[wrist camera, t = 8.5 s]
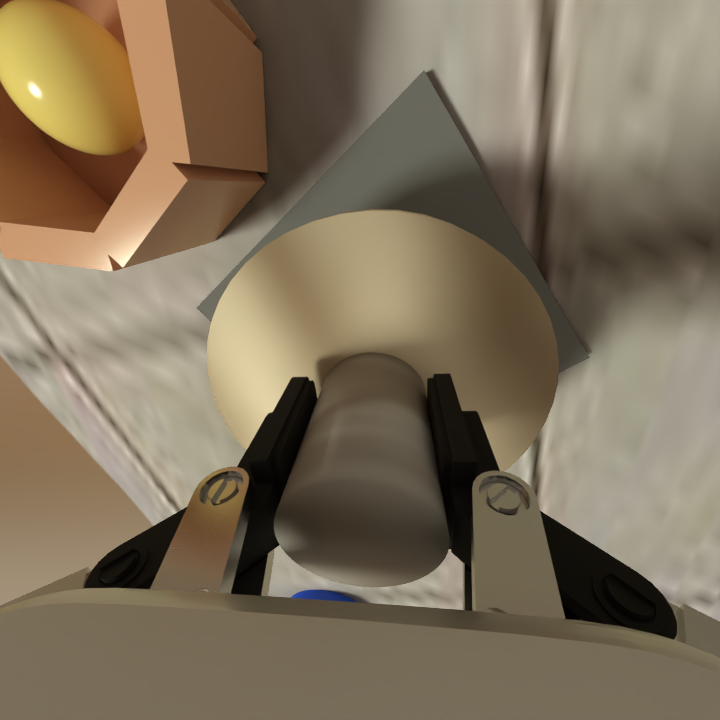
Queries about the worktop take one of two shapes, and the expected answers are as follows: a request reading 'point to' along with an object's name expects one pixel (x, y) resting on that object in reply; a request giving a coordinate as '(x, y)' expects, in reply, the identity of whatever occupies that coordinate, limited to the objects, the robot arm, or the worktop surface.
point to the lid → (379, 377)
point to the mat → (418, 193)
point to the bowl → (125, 128)
